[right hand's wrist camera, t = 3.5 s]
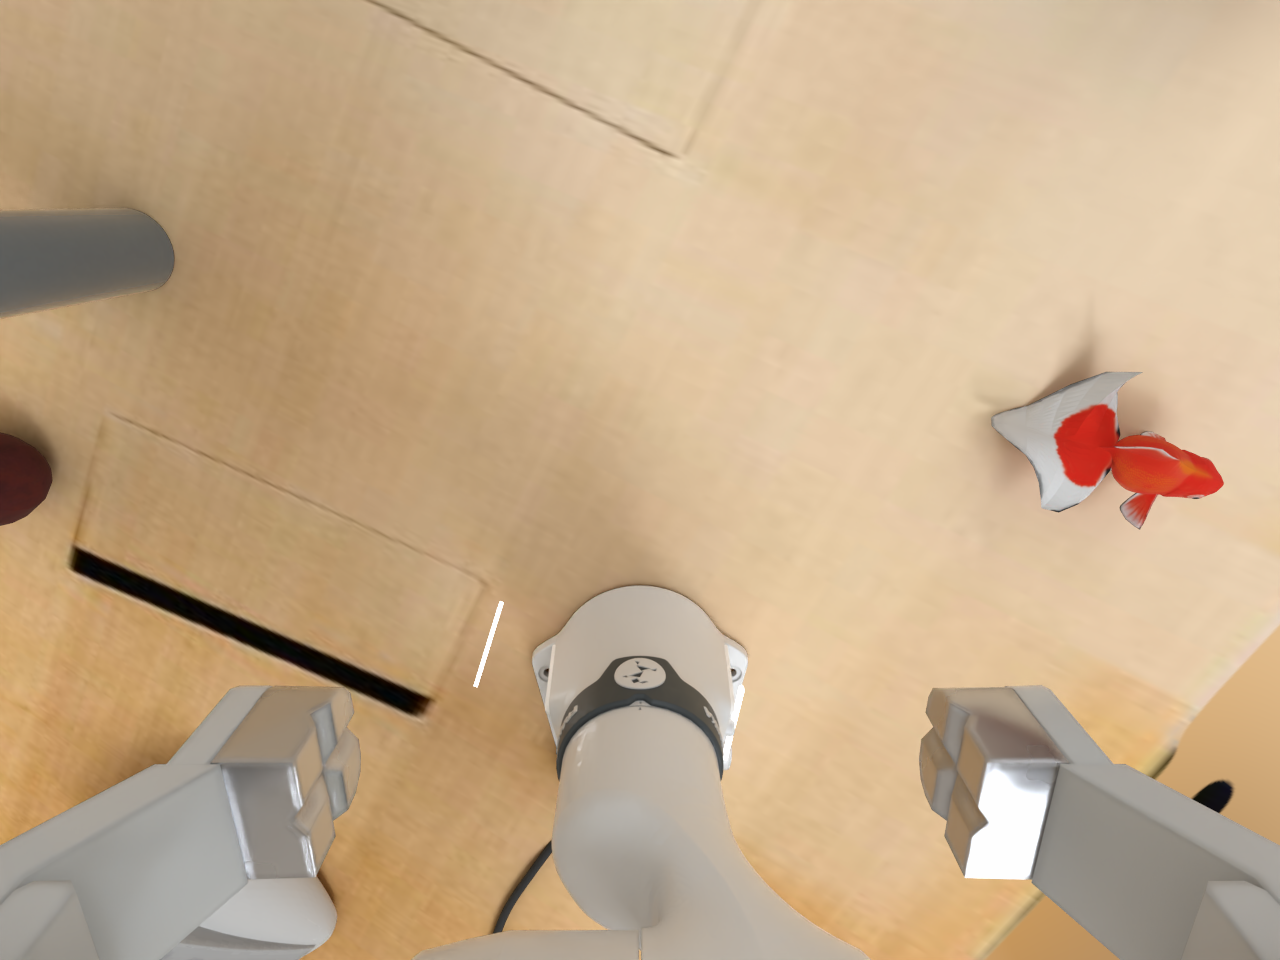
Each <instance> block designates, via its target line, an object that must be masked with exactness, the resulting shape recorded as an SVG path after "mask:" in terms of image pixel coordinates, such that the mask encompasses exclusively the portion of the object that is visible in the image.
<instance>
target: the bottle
mask: <svg viewBox="0 0 1280 960" xmlns="http://www.w3.org/2000/svg"><path fill="white" fill-rule="evenodd" d="M173 266H174V253H173V248H172V245H171V242H170V240H169V238H168V236H167V234H166V233H165V231H164V230H163V228H162V227H161V226H160V225H159V224H158V223H157V222H156V221H155V220H153V219H152V218H151V217H149V216H148V215H146V214H145V213H142V212H140V211H137V210H134V209H130V208H84V209H19V210H0V319H4V318H9V317H14V316H20V315H25V314H30V313H36V312H41V311H47V310H52V309H57V308H63V307H68V306H73V305H79V304H84V303H90V302H95V301H100V300H106V299H111V298H116V297H122V296H127V295H132V294H138V293H143V292H148V291H153V290H155V289H157V288H159V287H161V286H162V285H163V284H165V282H166V281H167V280H168V279H169V277H170V275H171V273H172V270H173Z"/></svg>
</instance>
